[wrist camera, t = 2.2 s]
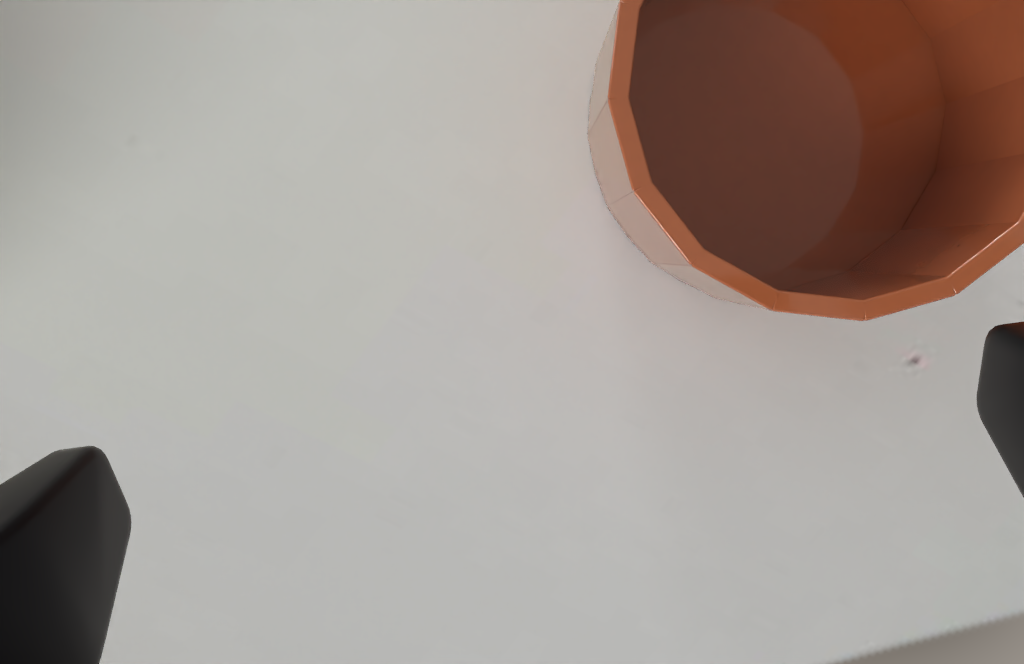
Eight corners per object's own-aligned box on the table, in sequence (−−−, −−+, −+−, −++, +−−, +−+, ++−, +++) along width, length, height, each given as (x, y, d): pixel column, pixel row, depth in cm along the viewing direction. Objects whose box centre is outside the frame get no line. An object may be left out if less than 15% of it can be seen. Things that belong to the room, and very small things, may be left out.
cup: (830, 364, 22) (934, 401, 16) (524, 194, 22) (525, 173, 16) (1016, 49, 21) (1190, -23, 16) (702, -132, 21) (765, -269, 15)
